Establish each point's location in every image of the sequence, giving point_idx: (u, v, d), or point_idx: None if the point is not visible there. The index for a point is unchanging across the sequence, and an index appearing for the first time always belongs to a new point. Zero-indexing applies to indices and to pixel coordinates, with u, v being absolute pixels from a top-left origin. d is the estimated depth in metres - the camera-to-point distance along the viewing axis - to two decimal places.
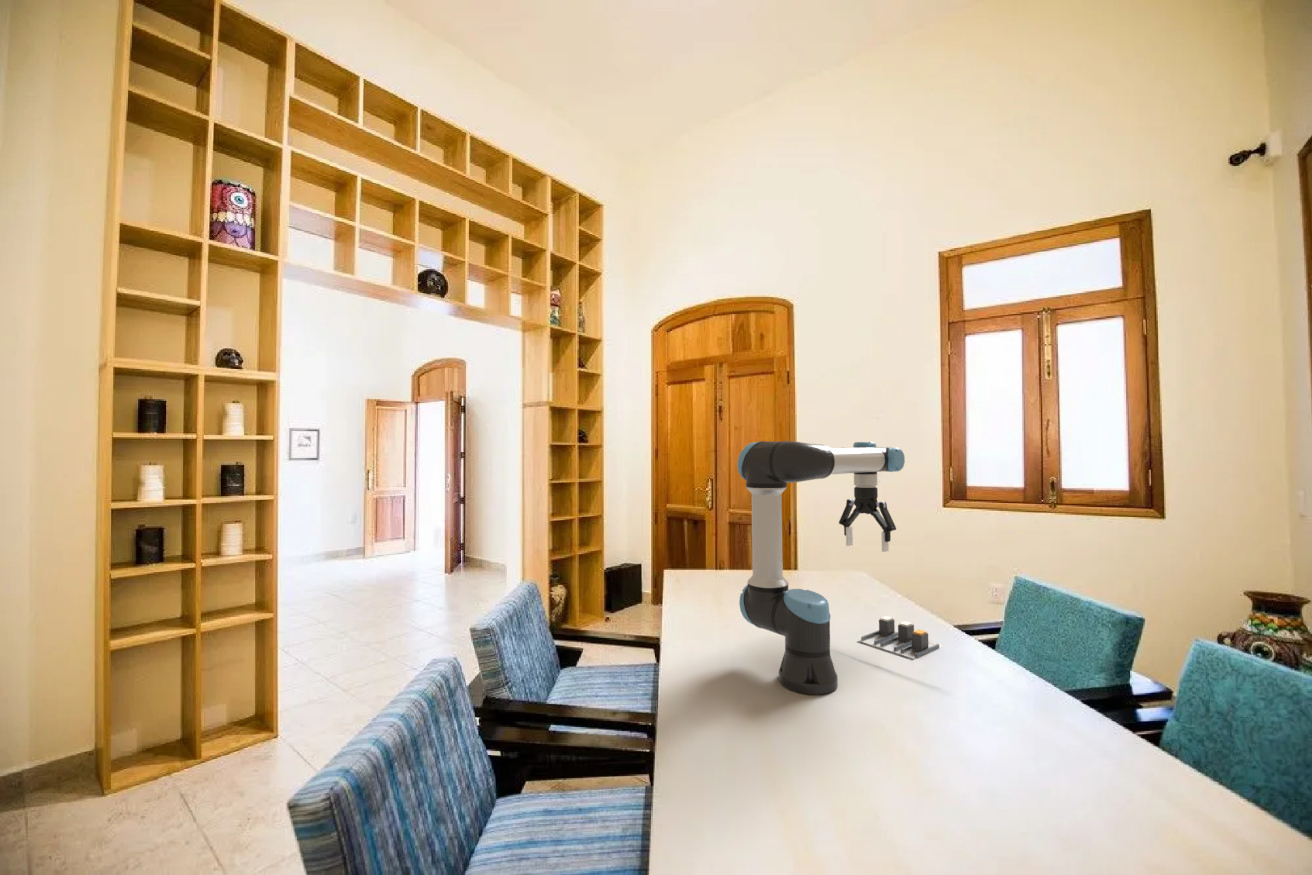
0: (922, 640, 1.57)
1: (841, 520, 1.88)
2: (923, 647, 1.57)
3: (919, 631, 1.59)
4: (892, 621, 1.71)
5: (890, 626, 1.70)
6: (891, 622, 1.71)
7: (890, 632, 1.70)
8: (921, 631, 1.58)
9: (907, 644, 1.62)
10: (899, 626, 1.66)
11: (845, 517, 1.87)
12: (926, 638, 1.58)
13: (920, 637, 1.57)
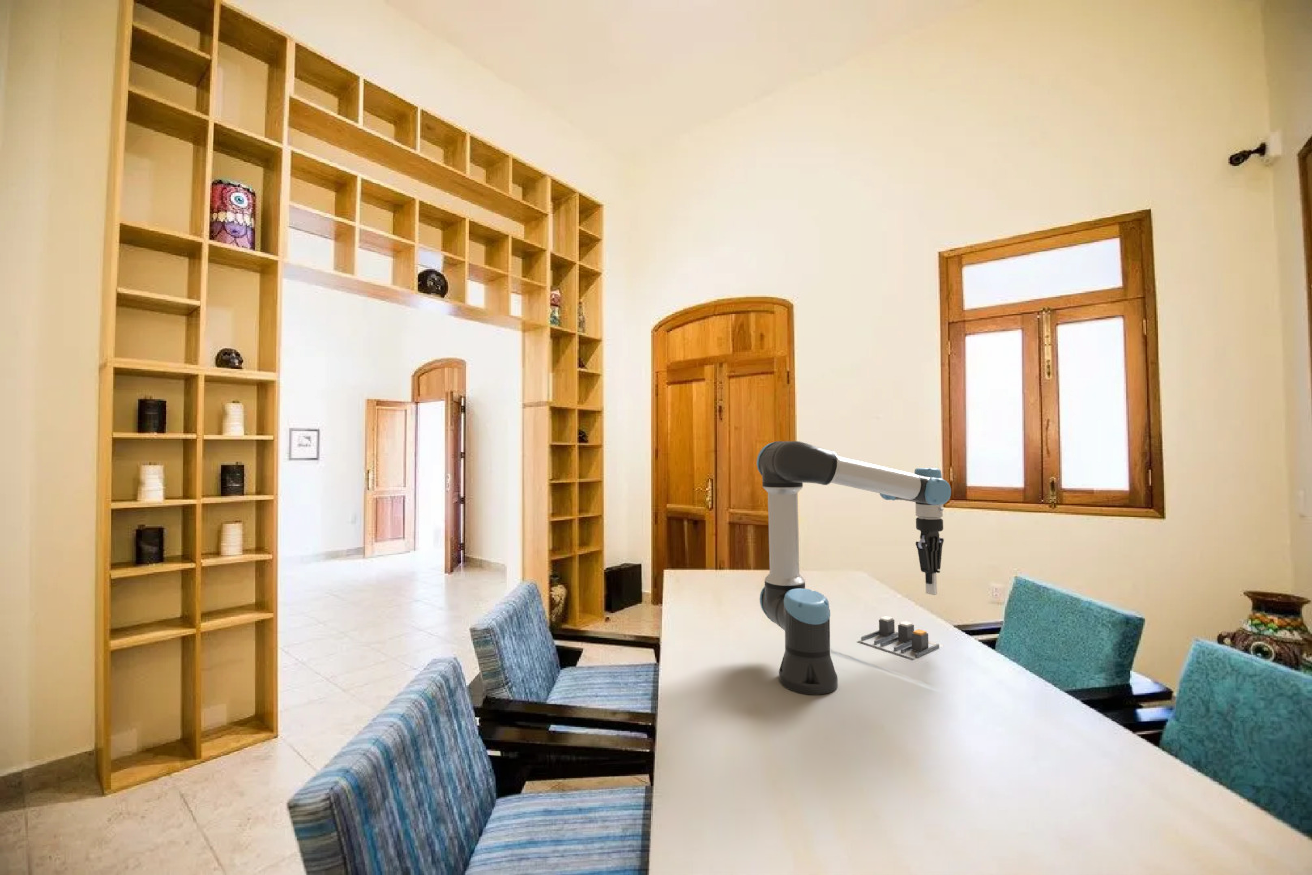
0: (922, 640, 1.57)
1: None
2: (923, 647, 1.57)
3: (919, 631, 1.59)
4: (892, 621, 1.71)
5: (890, 626, 1.70)
6: (891, 622, 1.71)
7: (890, 632, 1.70)
8: (921, 631, 1.58)
9: (907, 644, 1.62)
10: (899, 626, 1.66)
11: None
12: (926, 638, 1.58)
13: (920, 637, 1.57)
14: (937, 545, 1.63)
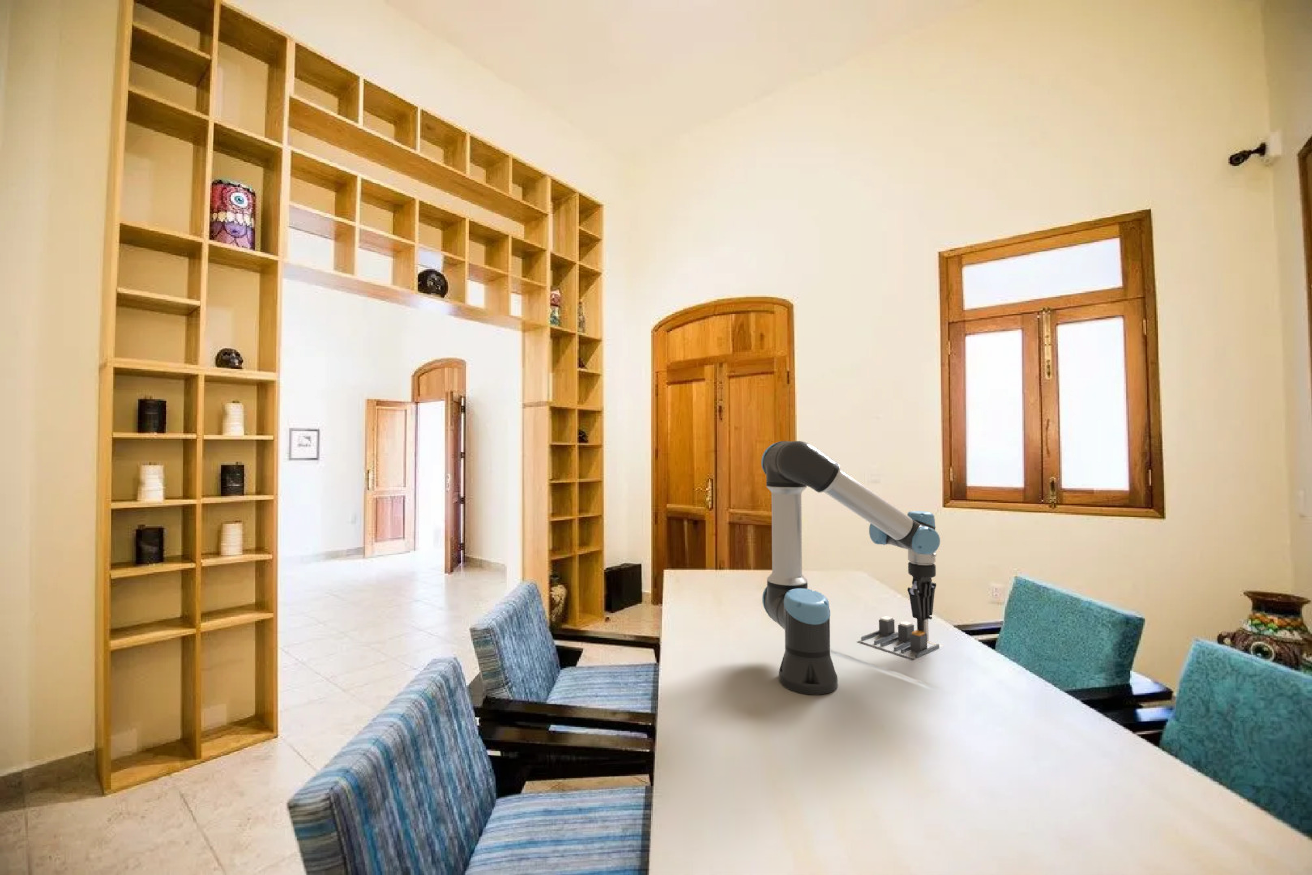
0: (921, 641, 1.56)
1: None
2: (922, 648, 1.57)
3: (918, 632, 1.58)
4: (892, 621, 1.71)
5: (890, 626, 1.70)
6: (891, 622, 1.71)
7: (890, 632, 1.70)
8: (920, 632, 1.58)
9: (907, 644, 1.62)
10: (899, 626, 1.66)
11: None
12: (925, 638, 1.58)
13: (919, 638, 1.56)
14: (929, 591, 1.60)
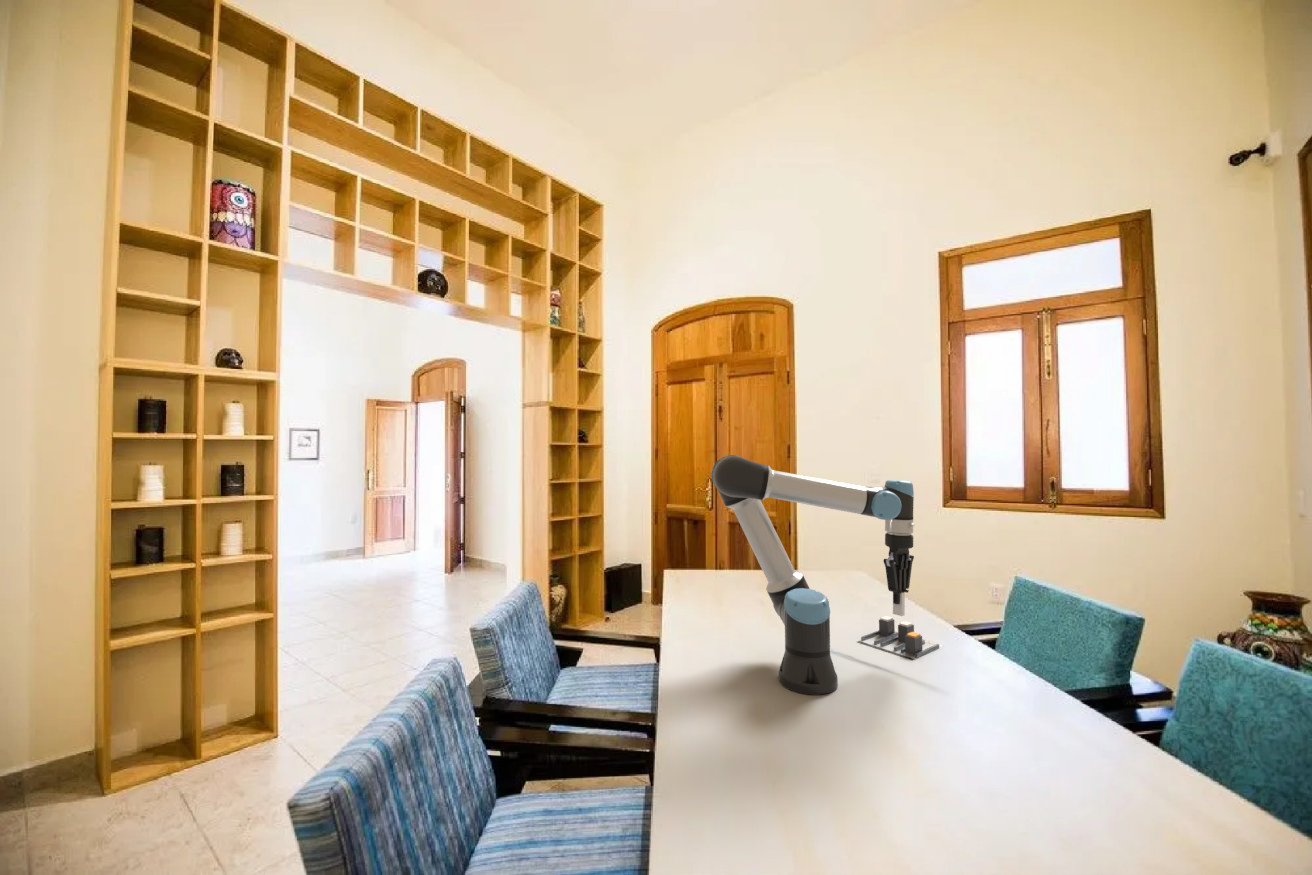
0: (916, 643, 1.55)
1: None
2: (917, 650, 1.55)
3: (913, 634, 1.57)
4: (892, 621, 1.71)
5: (890, 626, 1.70)
6: (891, 622, 1.71)
7: (890, 632, 1.70)
8: (915, 634, 1.56)
9: None
10: (899, 626, 1.66)
11: None
12: (920, 641, 1.56)
13: (914, 640, 1.54)
14: (906, 563, 1.53)
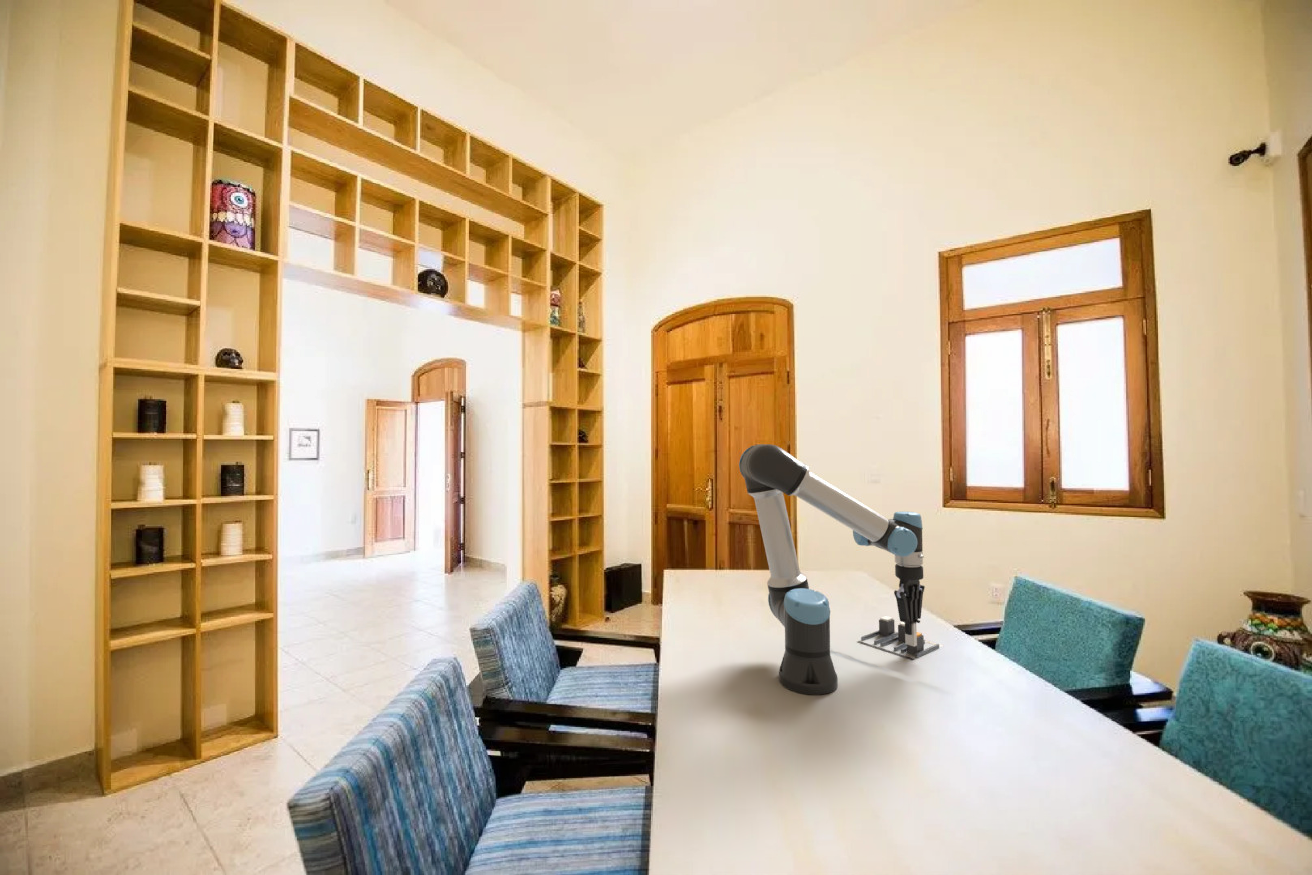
0: (917, 642, 1.55)
1: None
2: (919, 649, 1.55)
3: None
4: (892, 621, 1.71)
5: (890, 626, 1.70)
6: (891, 622, 1.71)
7: (890, 632, 1.70)
8: (917, 633, 1.57)
9: None
10: (899, 626, 1.66)
11: None
12: (922, 640, 1.57)
13: None
14: (917, 594, 1.55)
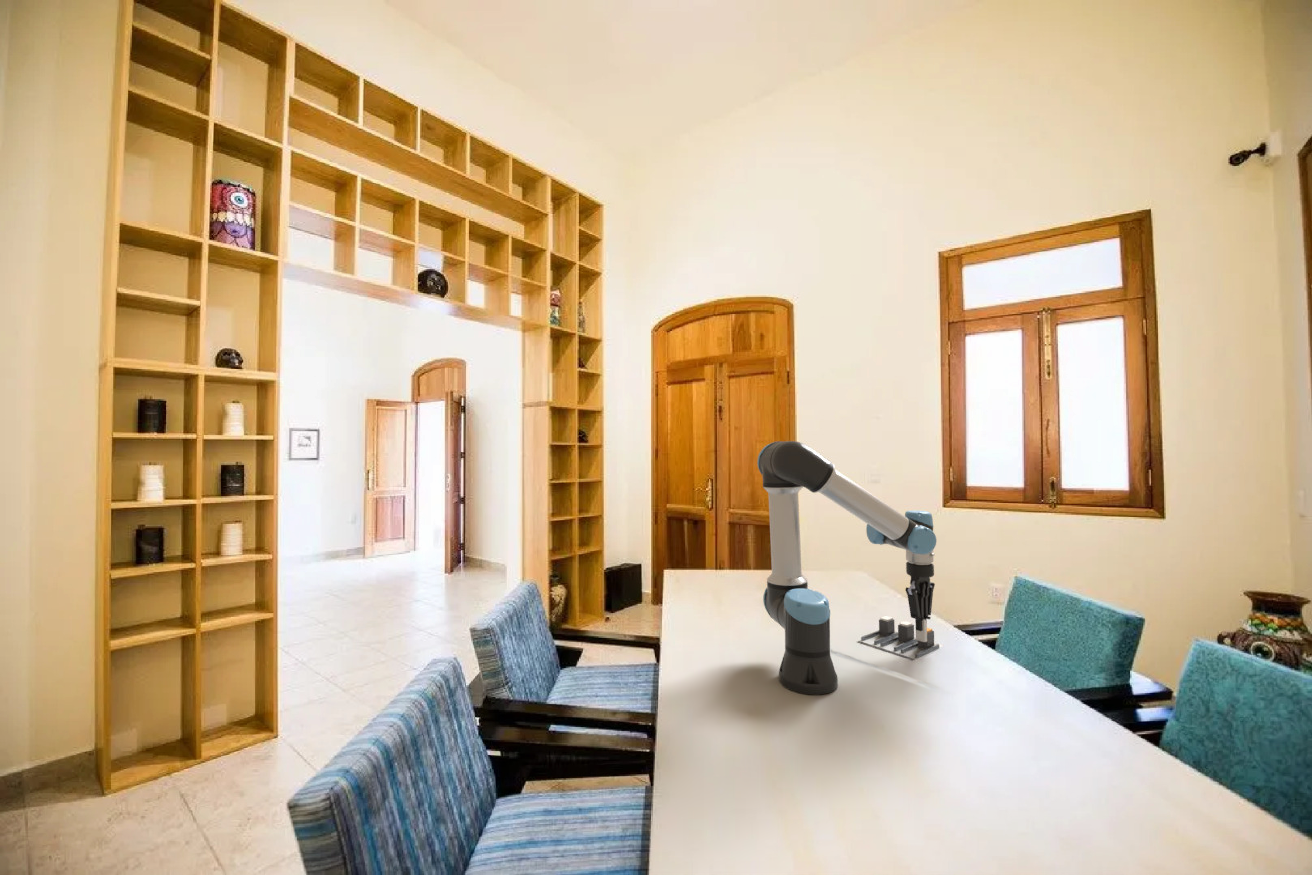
0: (928, 637, 1.59)
1: None
2: (929, 644, 1.59)
3: None
4: (892, 621, 1.71)
5: (890, 626, 1.70)
6: (891, 622, 1.71)
7: (890, 632, 1.70)
8: (927, 629, 1.60)
9: (907, 644, 1.62)
10: (899, 626, 1.66)
11: None
12: (932, 635, 1.60)
13: None
14: (928, 591, 1.59)
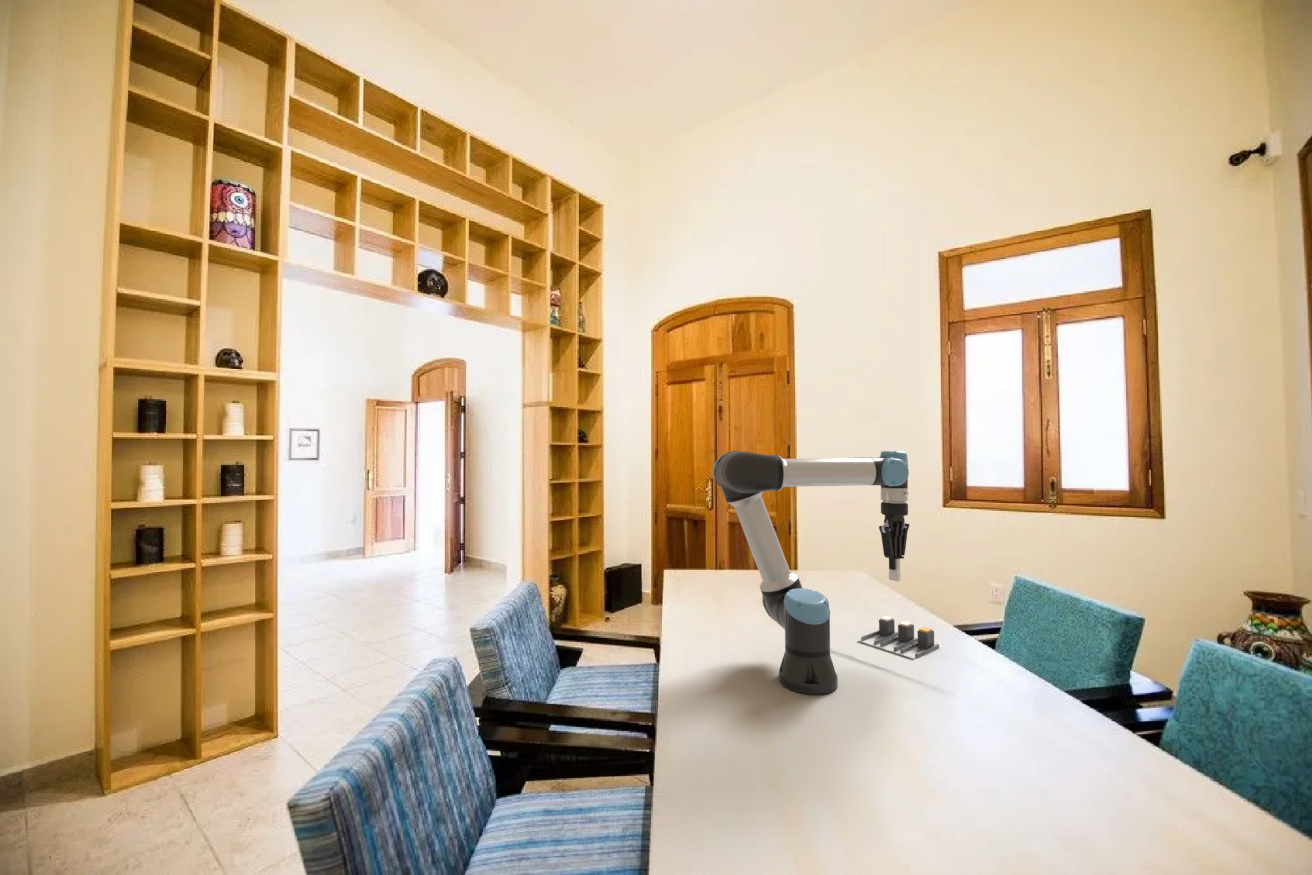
0: (928, 637, 1.59)
1: None
2: (929, 644, 1.59)
3: (925, 629, 1.61)
4: (892, 621, 1.71)
5: (890, 626, 1.70)
6: (891, 622, 1.71)
7: (890, 632, 1.70)
8: (927, 629, 1.60)
9: (907, 644, 1.62)
10: (899, 626, 1.66)
11: None
12: (932, 635, 1.60)
13: (926, 634, 1.59)
14: (901, 530, 1.59)
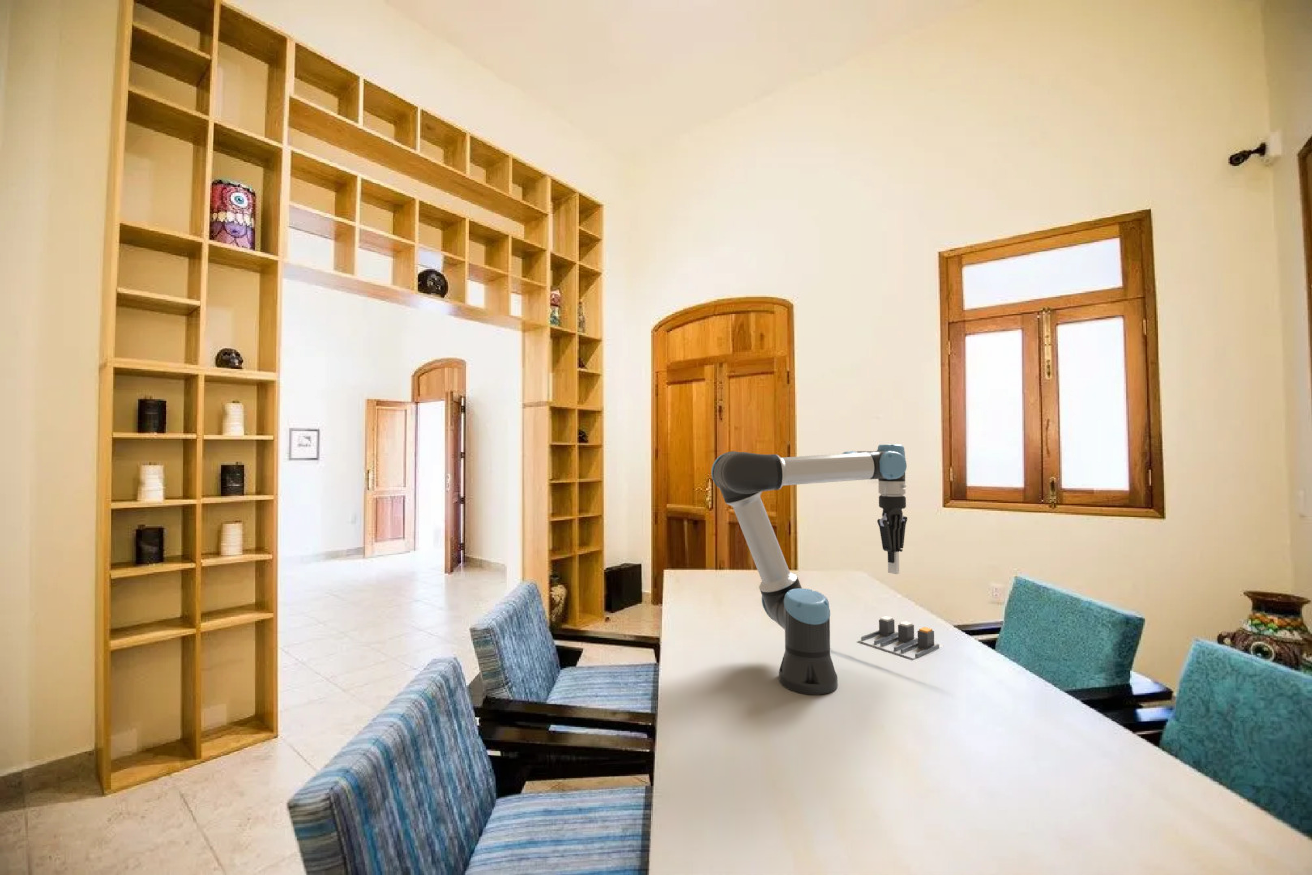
0: (928, 637, 1.59)
1: None
2: (929, 644, 1.59)
3: (925, 629, 1.61)
4: (892, 621, 1.71)
5: (890, 626, 1.70)
6: (891, 622, 1.71)
7: (890, 632, 1.70)
8: (927, 629, 1.60)
9: (907, 644, 1.62)
10: (899, 626, 1.66)
11: None
12: (932, 635, 1.60)
13: (926, 634, 1.59)
14: (900, 523, 1.59)
